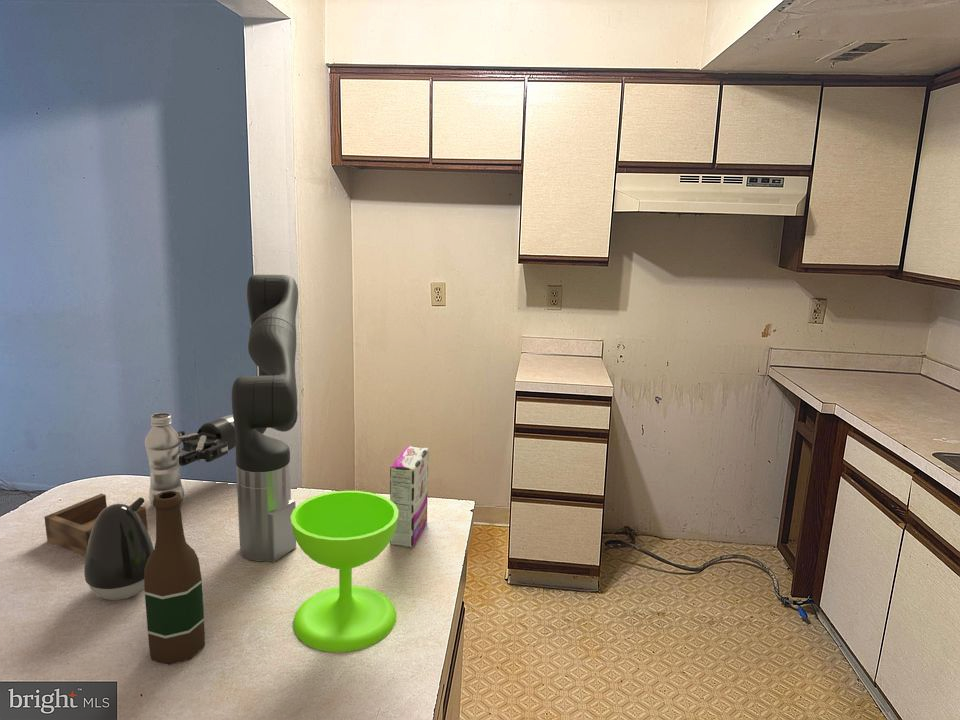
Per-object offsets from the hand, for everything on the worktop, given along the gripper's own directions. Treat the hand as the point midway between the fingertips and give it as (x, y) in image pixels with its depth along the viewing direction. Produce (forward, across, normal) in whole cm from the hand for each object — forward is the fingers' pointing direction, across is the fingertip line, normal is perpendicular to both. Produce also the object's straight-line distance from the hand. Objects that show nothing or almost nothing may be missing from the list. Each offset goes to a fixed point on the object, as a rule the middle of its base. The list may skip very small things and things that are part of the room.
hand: (165, 457), depth 132 cm
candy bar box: (-15, +49, +11) cm, 52 cm away
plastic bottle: (0, 0, +11) cm, 11 cm away
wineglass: (+13, +54, +11) cm, 57 cm away
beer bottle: (+30, +37, +11) cm, 49 cm away
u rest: (+14, -1, +11) cm, 18 cm away
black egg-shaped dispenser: (+24, +18, +11) cm, 32 cm away
